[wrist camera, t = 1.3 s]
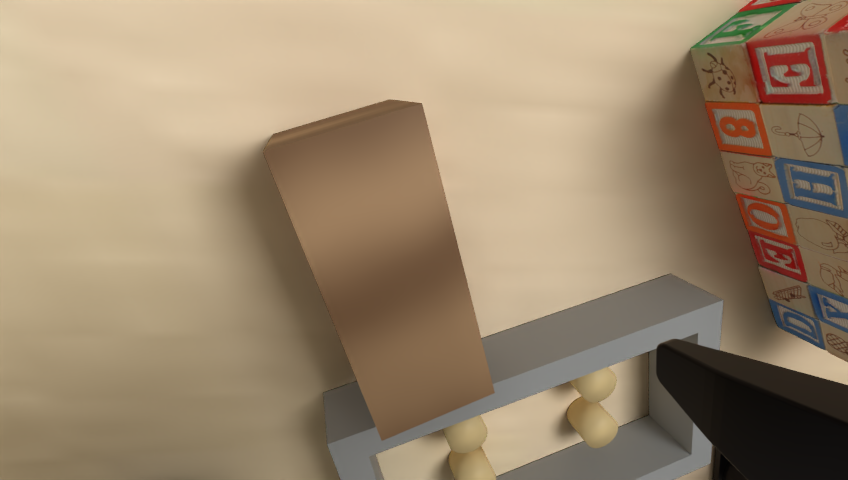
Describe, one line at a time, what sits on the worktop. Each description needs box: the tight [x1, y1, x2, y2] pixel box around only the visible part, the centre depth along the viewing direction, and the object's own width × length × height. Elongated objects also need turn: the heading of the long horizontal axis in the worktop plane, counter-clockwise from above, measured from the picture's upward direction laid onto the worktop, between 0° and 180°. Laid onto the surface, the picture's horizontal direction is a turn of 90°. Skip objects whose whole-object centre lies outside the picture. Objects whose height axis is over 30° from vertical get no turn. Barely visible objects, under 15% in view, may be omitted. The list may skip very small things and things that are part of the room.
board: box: [263, 100, 495, 441], centre depth 18 cm, size 12×5×6 cm, turn 15°
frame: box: [323, 274, 723, 480], centre depth 24 cm, size 12×21×4 cm, turn 102°
